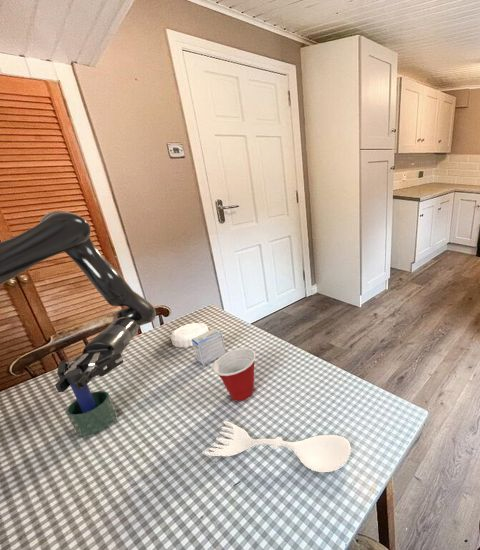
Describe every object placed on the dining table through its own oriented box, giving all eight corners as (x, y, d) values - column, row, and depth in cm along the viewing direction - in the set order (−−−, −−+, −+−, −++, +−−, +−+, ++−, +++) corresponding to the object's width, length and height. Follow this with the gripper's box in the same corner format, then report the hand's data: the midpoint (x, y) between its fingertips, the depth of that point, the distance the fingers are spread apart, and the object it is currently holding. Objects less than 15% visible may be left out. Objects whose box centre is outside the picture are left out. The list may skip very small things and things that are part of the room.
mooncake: (194, 327, 118) (192, 319, 117) (216, 333, 114) (214, 325, 113) (164, 343, 108) (162, 335, 107) (188, 351, 104) (185, 342, 102)
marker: (85, 426, 74) (61, 377, 68) (91, 417, 76) (69, 369, 71) (98, 424, 75) (76, 375, 69) (104, 415, 77) (83, 367, 71)
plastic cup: (221, 387, 88) (212, 353, 83) (260, 376, 92) (254, 343, 87) (220, 414, 79) (211, 377, 74) (263, 401, 83) (257, 366, 78)
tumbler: (68, 440, 72) (57, 418, 69) (88, 414, 79) (79, 394, 76) (107, 433, 73) (97, 412, 71) (123, 409, 81) (115, 388, 78)
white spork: (226, 428, 75) (223, 418, 73) (354, 442, 71) (353, 431, 70) (203, 463, 66) (200, 452, 65) (347, 480, 63) (346, 469, 61)
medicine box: (219, 349, 105) (214, 327, 102) (226, 353, 102) (222, 332, 99) (196, 361, 99) (190, 338, 96) (203, 366, 96) (197, 343, 93)
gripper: (74, 336, 81) (23, 379, 65) (134, 329, 84) (98, 369, 68) (84, 359, 83) (37, 406, 68) (141, 352, 86) (109, 395, 71)
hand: (68, 387), depth 68 cm, fingers closed on marker, 3 cm apart
